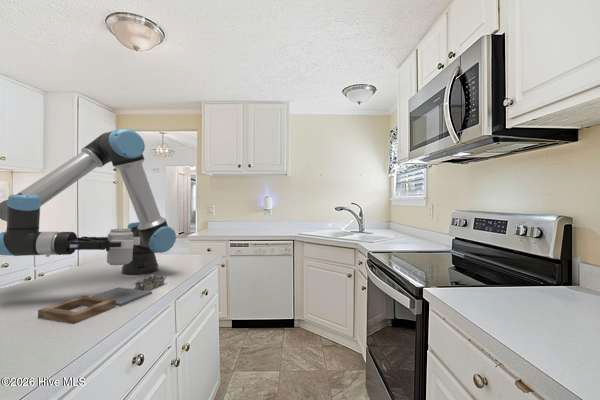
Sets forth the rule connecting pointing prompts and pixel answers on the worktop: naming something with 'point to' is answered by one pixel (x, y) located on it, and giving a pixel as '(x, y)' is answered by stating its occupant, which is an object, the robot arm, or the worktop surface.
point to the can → (120, 254)
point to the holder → (62, 313)
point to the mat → (123, 295)
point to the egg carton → (149, 282)
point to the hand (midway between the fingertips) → (136, 242)
